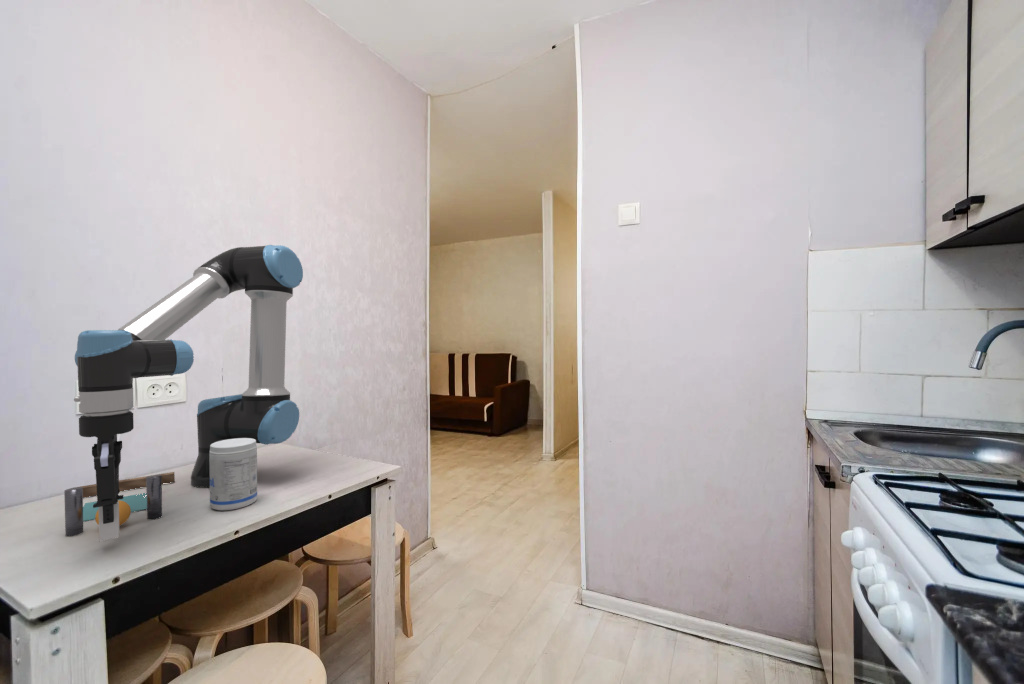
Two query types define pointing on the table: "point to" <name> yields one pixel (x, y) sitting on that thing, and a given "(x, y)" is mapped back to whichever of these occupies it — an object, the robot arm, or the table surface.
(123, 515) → the ball
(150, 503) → the right post
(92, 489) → the brown wooden bar
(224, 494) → the supplement tub
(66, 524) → the left post
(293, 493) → the table surface
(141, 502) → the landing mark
